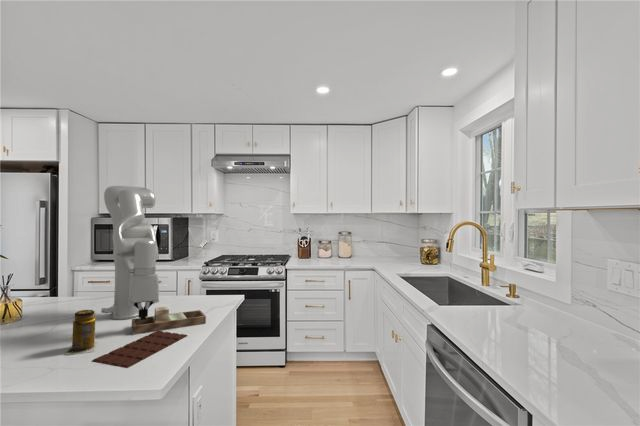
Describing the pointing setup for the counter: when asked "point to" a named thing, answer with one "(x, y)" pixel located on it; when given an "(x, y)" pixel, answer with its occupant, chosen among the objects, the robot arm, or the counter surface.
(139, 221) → the robot arm
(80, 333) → the condiment
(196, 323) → the box
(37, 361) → the counter surface
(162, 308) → the block
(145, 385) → the counter surface
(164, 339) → the chocolate bar
